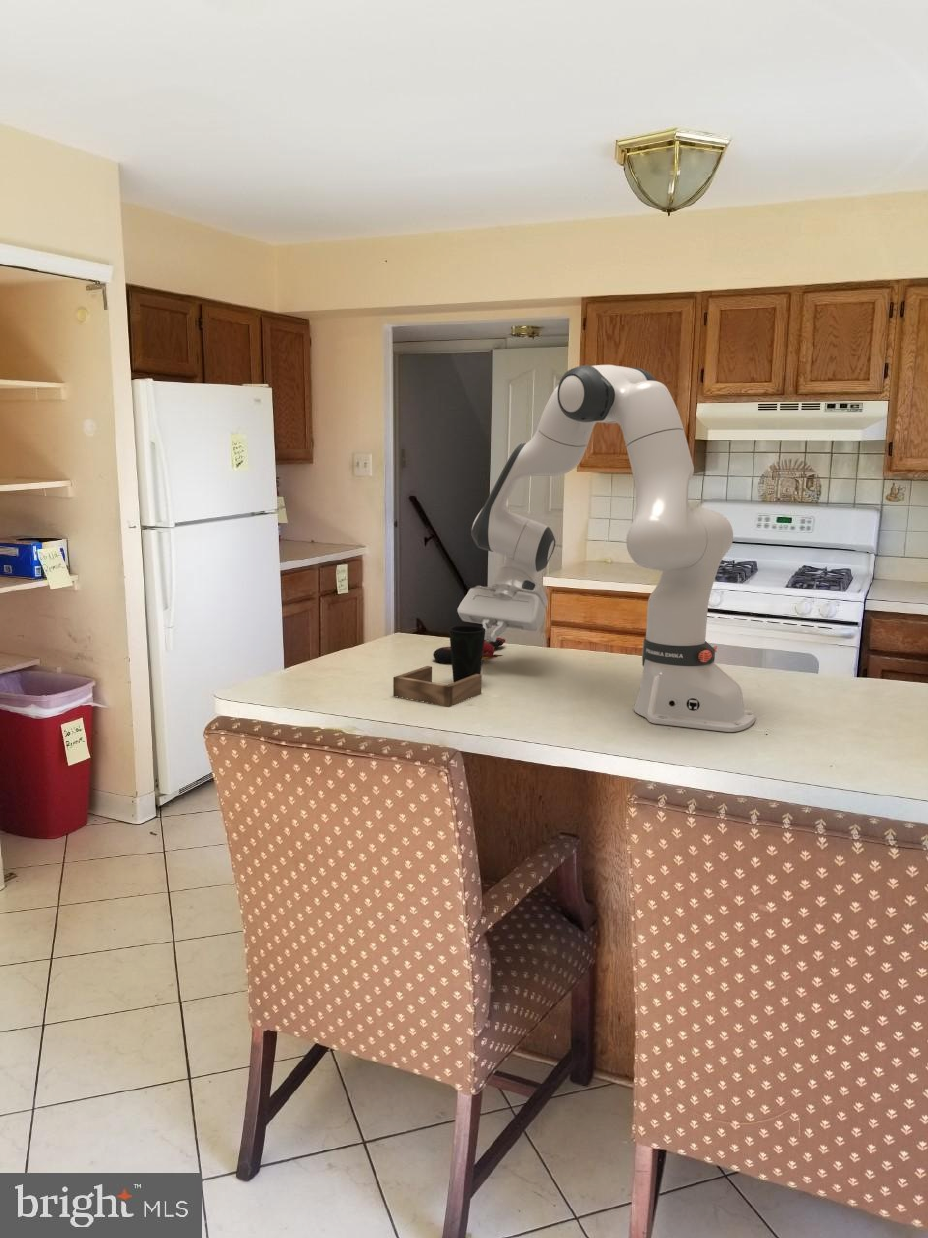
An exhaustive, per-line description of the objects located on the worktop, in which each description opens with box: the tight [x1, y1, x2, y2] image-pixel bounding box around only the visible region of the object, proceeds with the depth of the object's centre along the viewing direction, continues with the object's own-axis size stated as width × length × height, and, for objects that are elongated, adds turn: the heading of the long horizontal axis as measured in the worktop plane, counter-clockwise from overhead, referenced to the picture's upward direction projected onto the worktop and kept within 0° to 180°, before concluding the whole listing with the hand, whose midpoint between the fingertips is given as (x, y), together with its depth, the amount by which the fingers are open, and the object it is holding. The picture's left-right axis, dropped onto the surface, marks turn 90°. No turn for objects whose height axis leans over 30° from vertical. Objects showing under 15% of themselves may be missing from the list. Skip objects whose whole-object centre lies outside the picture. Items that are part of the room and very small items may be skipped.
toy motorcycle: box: [432, 637, 506, 664], centre depth 228 cm, size 25×5×16 cm
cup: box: [448, 625, 485, 683], centre depth 199 cm, size 8×8×12 cm
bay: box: [392, 665, 483, 708], centre depth 191 cm, size 13×12×4 cm
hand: (487, 639), depth 206 cm, fingers closed
